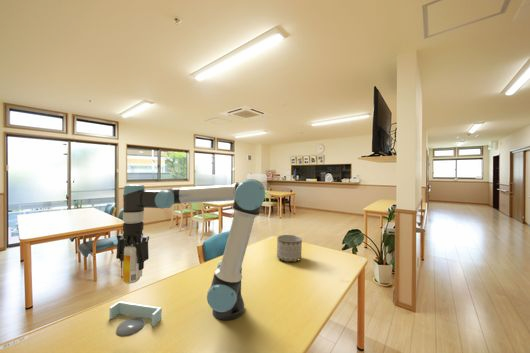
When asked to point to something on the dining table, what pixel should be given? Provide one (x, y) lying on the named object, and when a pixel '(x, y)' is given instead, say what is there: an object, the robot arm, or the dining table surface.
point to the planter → (289, 247)
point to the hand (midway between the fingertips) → (131, 276)
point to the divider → (136, 311)
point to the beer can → (130, 264)
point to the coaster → (130, 326)
